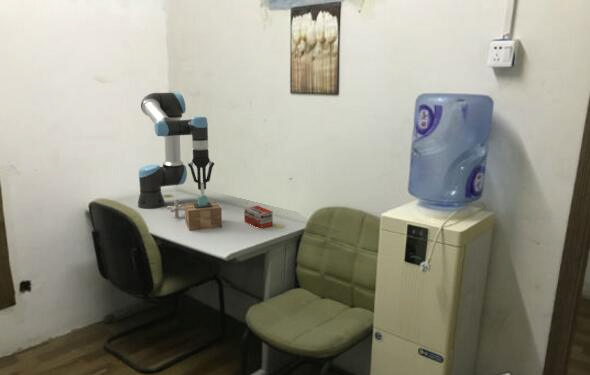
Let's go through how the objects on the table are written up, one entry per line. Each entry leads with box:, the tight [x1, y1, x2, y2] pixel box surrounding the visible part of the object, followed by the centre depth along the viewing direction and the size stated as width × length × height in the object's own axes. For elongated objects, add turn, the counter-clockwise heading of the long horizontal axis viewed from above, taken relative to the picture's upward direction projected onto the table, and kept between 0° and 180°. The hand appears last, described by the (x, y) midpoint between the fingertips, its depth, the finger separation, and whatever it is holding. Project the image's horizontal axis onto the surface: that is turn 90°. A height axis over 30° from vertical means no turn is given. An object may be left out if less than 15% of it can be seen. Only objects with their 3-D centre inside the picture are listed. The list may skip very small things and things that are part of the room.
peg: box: [197, 194, 208, 206], centre depth 227 cm, size 4×4×8 cm
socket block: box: [184, 200, 223, 231], centre depth 229 cm, size 14×16×10 cm
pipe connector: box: [166, 198, 185, 219], centre depth 241 cm, size 10×10×10 cm
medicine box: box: [243, 205, 274, 229], centre depth 231 cm, size 15×8×8 cm, turn 37°
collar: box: [192, 201, 212, 209], centre depth 228 cm, size 8×8×1 cm
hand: (202, 195), depth 226 cm, fingers closed
